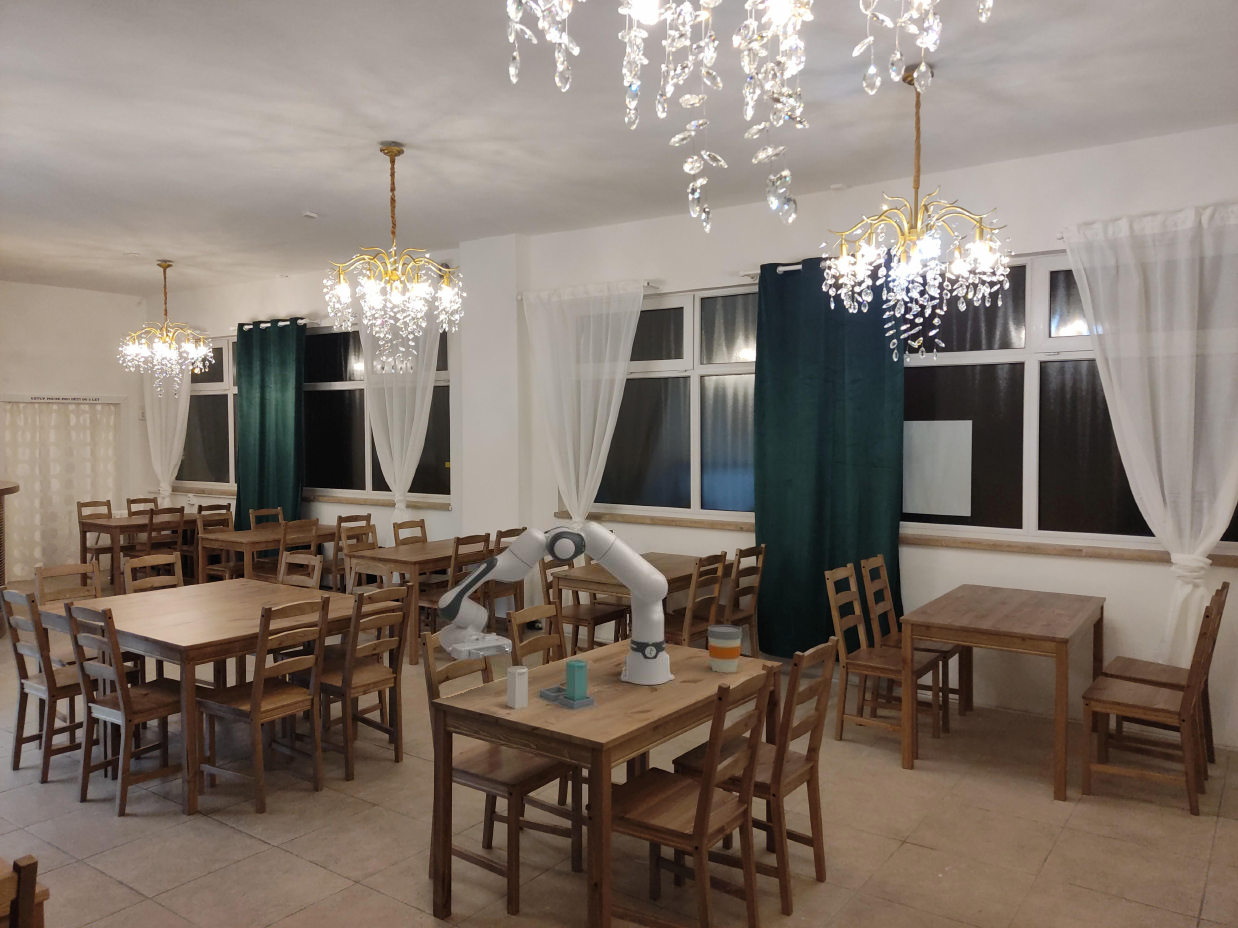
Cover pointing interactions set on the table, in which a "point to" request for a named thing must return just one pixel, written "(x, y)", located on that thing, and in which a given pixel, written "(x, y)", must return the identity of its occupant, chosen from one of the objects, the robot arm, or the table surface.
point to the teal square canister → (576, 680)
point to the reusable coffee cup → (724, 647)
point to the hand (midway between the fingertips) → (495, 653)
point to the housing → (564, 698)
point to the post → (517, 687)
